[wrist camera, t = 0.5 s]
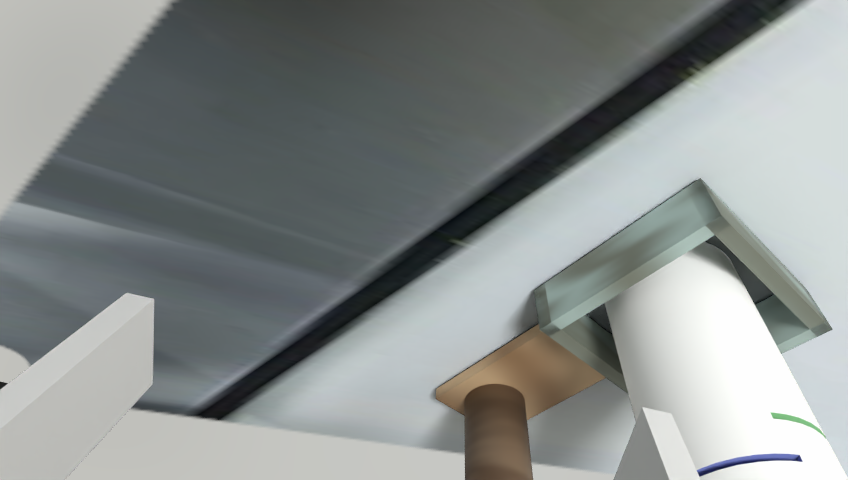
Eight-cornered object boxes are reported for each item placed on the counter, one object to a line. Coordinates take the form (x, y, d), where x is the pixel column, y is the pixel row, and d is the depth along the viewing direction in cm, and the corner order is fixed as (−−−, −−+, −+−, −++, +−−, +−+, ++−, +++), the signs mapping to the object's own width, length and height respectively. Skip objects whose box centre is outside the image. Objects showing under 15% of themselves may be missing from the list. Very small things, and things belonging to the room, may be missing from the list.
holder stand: (519, 438, 44) (537, 640, 34) (410, 373, 39) (394, 582, 30) (806, 288, 33) (954, 517, 23) (700, 178, 29) (826, 399, 19)
